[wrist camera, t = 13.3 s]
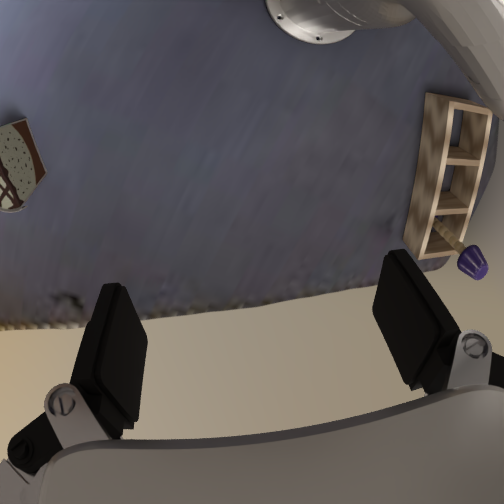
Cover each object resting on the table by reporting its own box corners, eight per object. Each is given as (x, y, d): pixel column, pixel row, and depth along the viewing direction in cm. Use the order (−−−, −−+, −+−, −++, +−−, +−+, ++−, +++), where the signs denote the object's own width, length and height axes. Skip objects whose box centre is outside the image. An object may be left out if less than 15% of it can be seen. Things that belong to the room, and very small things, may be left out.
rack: (425, 92, 37) (449, 100, 33) (470, 100, 38) (494, 110, 33) (402, 239, 53) (417, 259, 48) (443, 235, 53) (460, 253, 49)
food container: (-4, 125, 33) (-43, 148, 25) (24, 108, 33) (-16, 128, 25) (24, 193, 40) (-8, 226, 32) (51, 181, 40) (20, 214, 32)
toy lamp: (437, 199, 49) (494, 255, 35) (438, 220, 51) (490, 278, 38) (416, 208, 49) (471, 268, 36) (417, 229, 52) (467, 290, 39)
